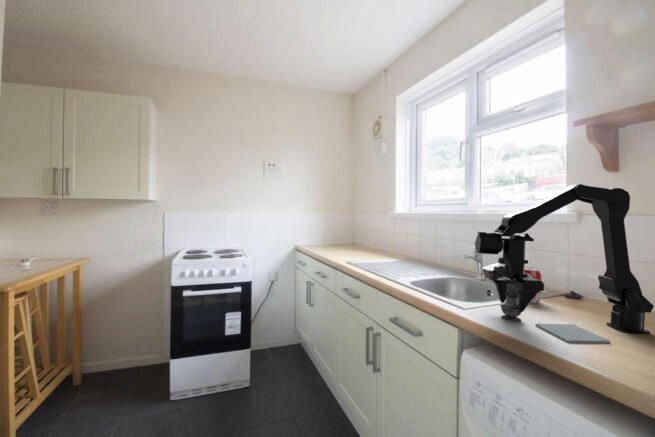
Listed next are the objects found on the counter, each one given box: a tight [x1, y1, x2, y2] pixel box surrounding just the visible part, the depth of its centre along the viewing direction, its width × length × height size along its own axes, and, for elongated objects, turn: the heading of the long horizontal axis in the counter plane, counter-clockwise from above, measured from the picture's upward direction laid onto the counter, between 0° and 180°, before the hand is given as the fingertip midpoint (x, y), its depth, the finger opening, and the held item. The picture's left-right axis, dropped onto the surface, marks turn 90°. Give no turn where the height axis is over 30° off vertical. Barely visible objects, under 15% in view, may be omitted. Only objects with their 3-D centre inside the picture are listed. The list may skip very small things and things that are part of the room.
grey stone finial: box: [499, 281, 522, 323], centre depth 91 cm, size 6×6×12 cm
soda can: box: [524, 266, 542, 304], centre depth 111 cm, size 7×7×12 cm
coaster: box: [535, 323, 611, 344], centre depth 80 cm, size 11×11×1 cm
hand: (511, 306), depth 91 cm, fingers closed on grey stone finial, 8 cm apart
